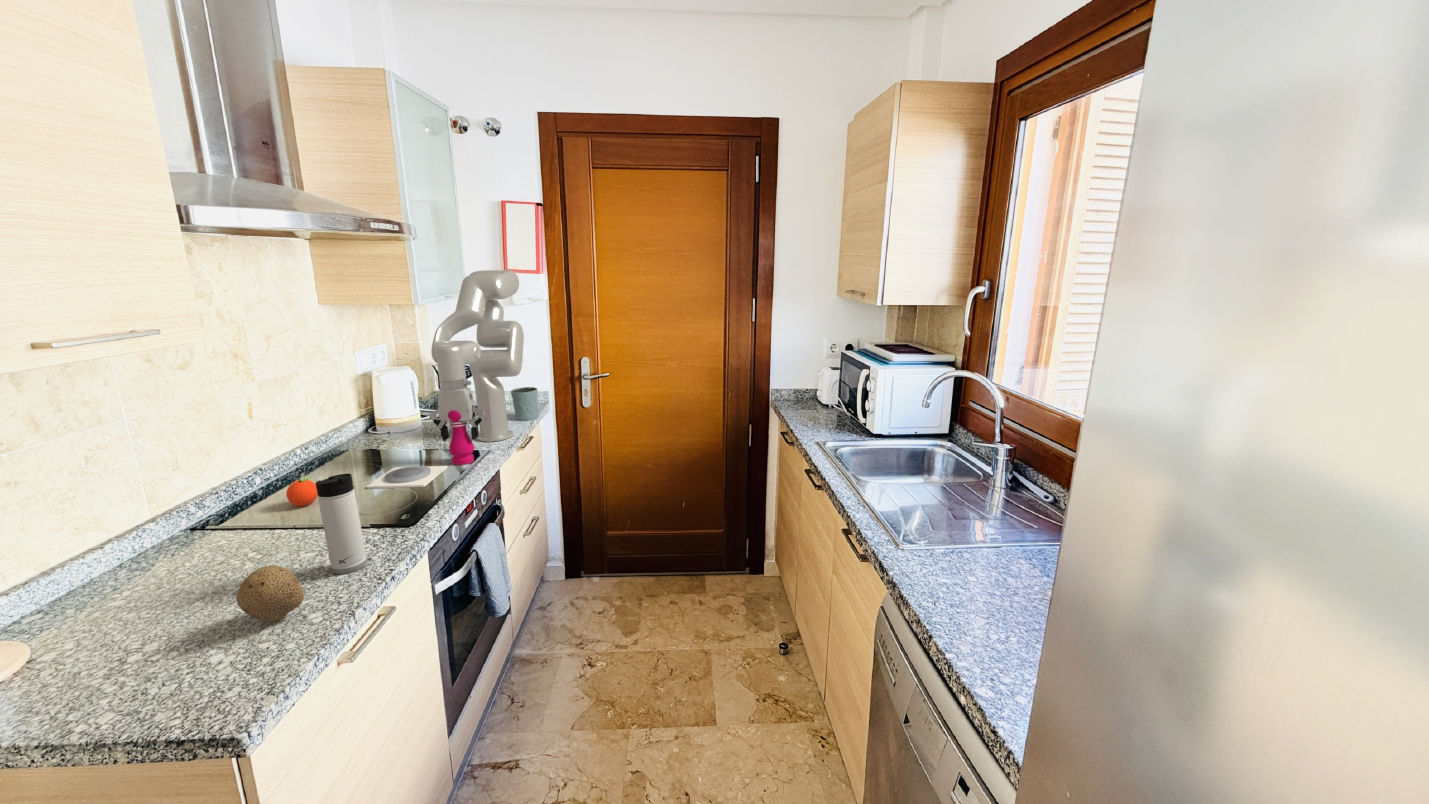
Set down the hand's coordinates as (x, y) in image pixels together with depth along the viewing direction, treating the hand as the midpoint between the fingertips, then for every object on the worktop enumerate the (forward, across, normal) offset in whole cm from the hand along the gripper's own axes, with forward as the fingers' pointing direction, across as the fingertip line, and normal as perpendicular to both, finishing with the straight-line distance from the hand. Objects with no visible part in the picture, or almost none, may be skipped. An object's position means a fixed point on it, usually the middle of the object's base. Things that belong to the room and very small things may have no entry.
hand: (460, 438), depth 184 cm
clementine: (+8, +29, +31) cm, 43 cm away
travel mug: (+8, -2, +66) cm, 66 cm away
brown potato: (+8, +1, +84) cm, 84 cm away
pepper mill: (+8, 0, 0) cm, 8 cm away
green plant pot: (+8, -5, -52) cm, 53 cm away
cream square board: (+8, +11, +13) cm, 19 cm away
